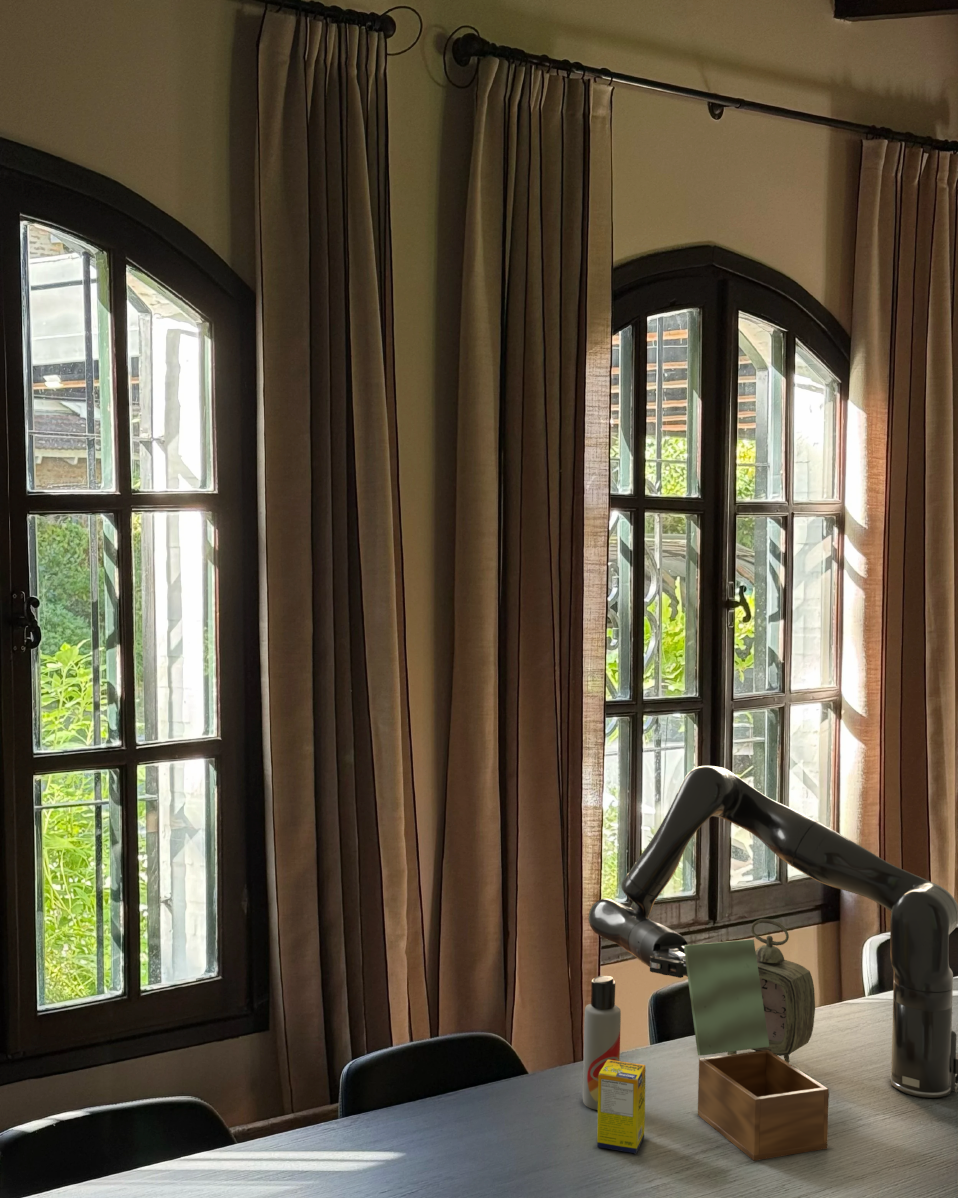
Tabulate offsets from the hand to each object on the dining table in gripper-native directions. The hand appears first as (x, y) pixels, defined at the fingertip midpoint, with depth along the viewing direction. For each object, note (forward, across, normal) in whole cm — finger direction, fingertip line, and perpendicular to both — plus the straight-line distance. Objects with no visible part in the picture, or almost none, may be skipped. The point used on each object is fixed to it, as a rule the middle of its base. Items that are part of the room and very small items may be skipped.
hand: (709, 977), depth 193 cm
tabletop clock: (-6, +16, +19) cm, 25 cm away
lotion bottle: (0, -19, +19) cm, 27 cm away
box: (+16, 0, +18) cm, 24 cm away
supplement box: (+12, -22, +19) cm, 32 cm away
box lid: (+6, 0, +1) cm, 6 cm away
